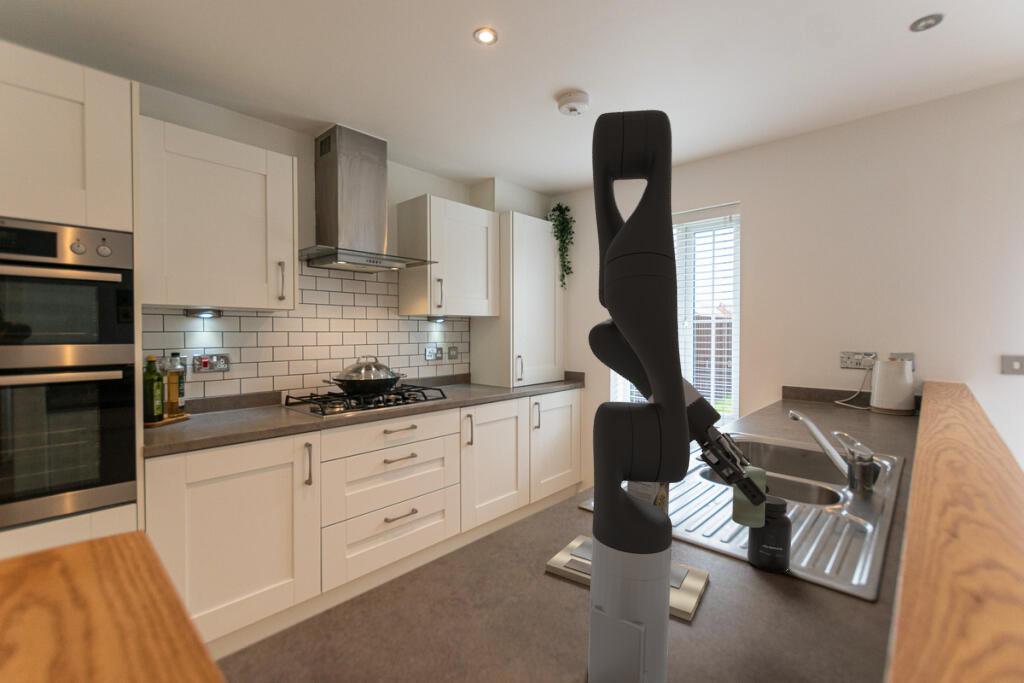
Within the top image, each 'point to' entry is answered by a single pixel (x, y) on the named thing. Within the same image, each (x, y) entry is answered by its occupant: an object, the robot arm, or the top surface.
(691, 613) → the board
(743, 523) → the green cylinder
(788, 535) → the supplement bottle
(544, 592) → the top surface
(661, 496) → the coffee box
